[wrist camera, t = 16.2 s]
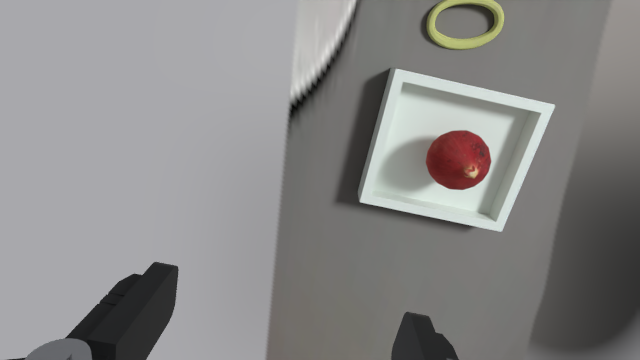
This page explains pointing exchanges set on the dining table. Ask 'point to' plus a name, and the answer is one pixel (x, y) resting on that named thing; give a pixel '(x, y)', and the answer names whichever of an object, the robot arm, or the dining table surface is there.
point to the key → (470, 43)
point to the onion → (458, 160)
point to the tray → (439, 118)
